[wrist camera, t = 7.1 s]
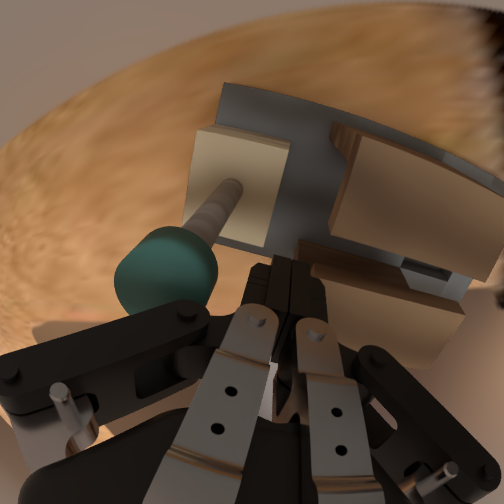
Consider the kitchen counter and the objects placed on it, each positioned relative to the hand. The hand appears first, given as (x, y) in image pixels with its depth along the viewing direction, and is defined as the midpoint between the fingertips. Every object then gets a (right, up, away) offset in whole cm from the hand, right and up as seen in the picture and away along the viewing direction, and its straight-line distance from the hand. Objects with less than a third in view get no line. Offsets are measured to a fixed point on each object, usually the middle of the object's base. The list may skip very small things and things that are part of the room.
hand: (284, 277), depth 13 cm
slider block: (-2, +7, +12) cm, 14 cm away
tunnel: (+9, +6, +14) cm, 18 cm away
